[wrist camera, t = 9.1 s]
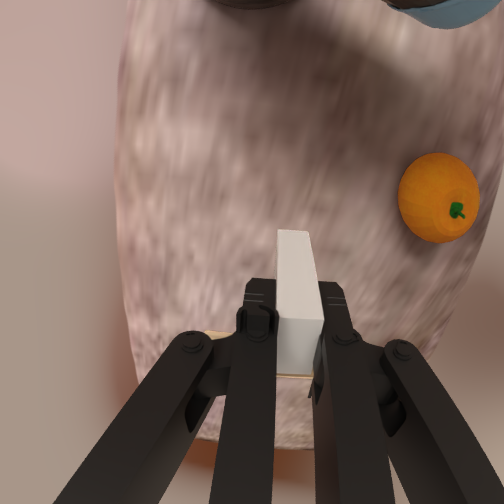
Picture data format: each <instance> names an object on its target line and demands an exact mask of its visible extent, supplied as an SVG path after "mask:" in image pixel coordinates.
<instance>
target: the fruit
mask: <svg viewBox="0 0 504 504" xmlns="http://www.w3.org/2000/svg"><path fill="white" fill-rule="evenodd" d="M479 203H480V193H479V188H478V184H477V181H476V178H475V177H474V175H473V173H472V172H471V170H470V168H469V167H468V166H467V165H466V164H464V163H463V162H462V161H461V160H460V159H458V158H457V157H455V156H452V155H449V154H445V153H441V152H440V153H429V154H426V155H424V156H422V157H419V158H417V159H416V160H415V161H414V162H413V163H412V164H411V165H410V166H409V167H408V168H407V169H406V171H405V173H404V175H403V176H402V178H401V181H400V185H399V189H398V206H399V209H400V212H401V215H402V218H403V220H404V222H405V223H406V224H407V226H408V227H409V228H410V229H411V231H412V232H413V233H414V234H416V235H417V236H419V237H420V238H422V239H424V240H426V241H429V242H434V243H445V242H450V241H453V240H455V239H457V238H459V237H461V236H462V235H464V234H465V233H466V232H467V231H468V230H469V229H470V228H471V226H472V224H473V222H474V221H475V219H476V217H477V213H478V210H479Z"/></svg>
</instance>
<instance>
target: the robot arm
mask: <svg viewBox="0 0 504 504" xmlns="http://www.w3.org/2000/svg"><path fill="white" fill-rule="evenodd" d="M216 1H218V2H220V3H222V4H225V5H228V6H232V7H236V8H243V9H260V8H268V7H272V6H276V5H279V4H282V3H285V2H287V1H289V0H216ZM382 1H384V2H386V3H387V5H388V6H389V7H391V8H392V9H394V10H397V11H400V12H404V13H406V14H407V15H409V16H411V17H413V18H414V19H416V20H418V21H419V22H421V23H423V24H425V25H427V26H429V27H432V28H439V29H454V28H459V27H462V26H465V25H468V24H470V23H472V22H474V21H476V20H478V19H479V18H481V17H483V16H484V15H486V14H487V13H488V12H490V11H491V10H492V9H493V8H495V7H496V6H497V5H498V3H499V2H500V1H501V0H382ZM312 368H313V373H314V377H313V380H312V384H311V387H310V391H309V395H308V398H311V396H312V407H313V427H314V452H315V491H316V504H395V497H394V490H393V484H392V477H391V470H390V464H389V458H390V460H391V462H392V464H393V467H394V468H395V471H396V473H397V475H398V478H399V480H400V482H401V484H402V487H403V489H404V491H405V493H406V496H407V498H408V500H409V503H410V504H504V487H503V485H502V483H501V481H500V479H499V477H498V476H497V474H496V472H495V470H494V468H493V467H492V465H491V463H490V461H489V459H488V458H487V456H486V454H485V452H484V451H483V449H482V448H481V446H480V444H479V442H478V441H477V439H476V437H475V436H474V434H473V432H472V431H471V429H470V427H469V426H468V424H467V422H466V421H465V419H464V418H463V416H462V415H461V413H460V411H459V410H458V408H457V407H456V405H455V403H454V402H453V400H452V399H451V397H450V396H449V394H448V393H447V391H446V390H445V388H444V387H443V385H442V384H441V382H440V381H439V379H438V378H437V376H436V375H435V373H434V372H433V371H432V369H431V367H430V366H429V365H428V363H427V362H426V360H425V359H424V357H423V356H422V355H421V353H420V352H419V350H418V349H417V348H416V347H415V346H414V345H413V344H411V343H410V342H408V341H405V340H401V339H397V340H392V341H389V342H388V343H387V344H386V345H385V347H380V346H376V345H372V344H369V343H366V342H365V341H363V340H362V337H361V335H360V334H359V333H358V332H357V331H356V330H355V329H353V326H352V322H351V318H350V314H349V311H348V307H347V303H346V299H345V296H344V292H343V289H342V288H341V287H340V286H339V285H338V284H337V283H336V282H324V281H318V280H317V275H316V269H315V264H314V258H313V253H312V248H311V243H310V238H309V233H308V231H297V230H282V229H278V232H277V245H276V258H275V270H274V279H262V278H252V279H251V280H250V281H249V282H248V283H247V284H246V288H245V295H244V301H243V306H242V307H241V308H239V310H238V312H237V314H236V332H234V333H233V334H232V335H230V336H227V337H224V338H220V339H213V340H212V339H211V338H210V337H209V336H208V335H207V334H205V333H203V332H200V331H186V332H183V333H181V334H179V335H177V336H176V337H175V338H174V339H173V340H172V342H171V343H170V344H169V346H168V347H167V348H166V350H165V351H164V353H163V354H162V355H161V357H160V358H159V359H158V361H157V362H156V363H155V365H154V366H153V367H152V369H151V370H150V371H149V373H148V374H147V375H146V377H145V378H144V379H143V381H142V382H141V383H140V385H139V386H138V388H137V389H136V390H135V392H134V393H133V394H132V396H131V397H130V398H129V400H128V401H127V402H126V404H125V405H124V406H123V408H122V409H121V411H120V412H119V413H118V415H117V416H116V417H115V419H114V420H113V421H112V423H111V424H110V426H109V427H108V428H107V430H106V431H105V432H104V434H103V435H102V436H101V438H100V439H99V441H98V442H97V443H96V445H95V446H94V447H93V449H92V450H91V452H90V453H89V454H88V456H87V457H86V458H85V460H84V461H83V462H82V464H81V466H80V467H79V468H78V469H77V471H76V472H75V474H74V475H73V476H72V478H71V479H70V481H69V482H68V483H67V485H66V486H65V488H64V489H63V490H62V492H61V493H60V495H59V496H58V497H57V499H56V500H55V501H54V503H53V504H158V503H159V501H160V500H161V498H162V496H163V494H164V493H165V491H166V489H167V487H168V485H169V484H170V482H171V480H172V478H173V477H174V475H175V473H176V471H177V469H178V468H179V466H180V464H181V462H182V460H183V458H184V457H185V455H186V453H187V451H188V449H189V447H190V446H191V444H192V442H193V440H194V438H195V436H196V434H197V433H198V431H199V429H200V427H201V425H202V423H203V421H204V419H205V418H206V416H207V414H208V412H209V410H210V408H211V406H212V404H213V402H214V400H215V398H216V396H222V395H226V400H225V406H224V412H223V418H222V424H221V430H220V437H219V443H218V449H217V455H216V461H215V468H214V474H213V480H212V486H211V493H210V499H209V504H271V501H272V482H273V461H274V438H275V410H276V375H277V373H282V374H307V375H311V372H312ZM388 456H389V458H388Z"/></svg>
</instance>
